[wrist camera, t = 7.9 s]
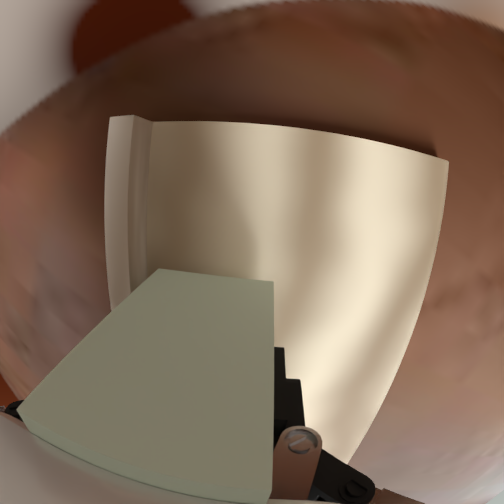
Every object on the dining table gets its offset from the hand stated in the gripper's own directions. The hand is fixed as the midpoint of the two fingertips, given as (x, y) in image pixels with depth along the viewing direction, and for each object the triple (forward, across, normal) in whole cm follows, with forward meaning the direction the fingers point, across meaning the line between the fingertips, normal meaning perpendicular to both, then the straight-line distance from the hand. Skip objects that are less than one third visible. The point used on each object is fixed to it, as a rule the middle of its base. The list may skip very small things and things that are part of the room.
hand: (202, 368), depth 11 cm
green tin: (+2, 0, 0) cm, 2 cm away
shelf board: (+4, -3, +3) cm, 6 cm away
